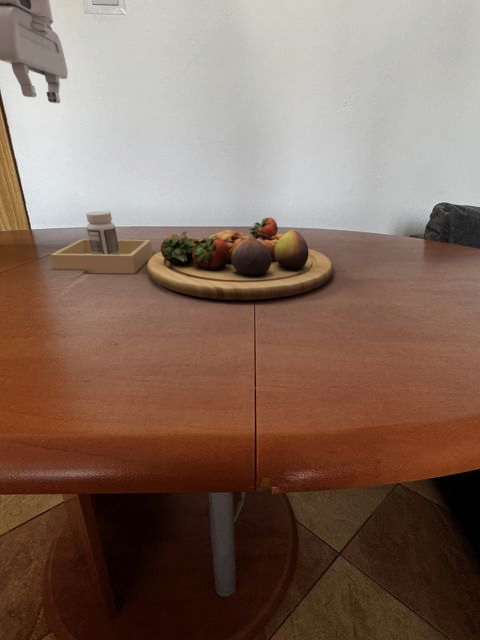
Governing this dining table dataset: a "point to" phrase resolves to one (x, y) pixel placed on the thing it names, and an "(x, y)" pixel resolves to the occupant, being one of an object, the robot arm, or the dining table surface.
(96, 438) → the dining table surface
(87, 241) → the tray
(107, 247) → the pill bottle
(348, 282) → the dining table surface
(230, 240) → the wooden plate
